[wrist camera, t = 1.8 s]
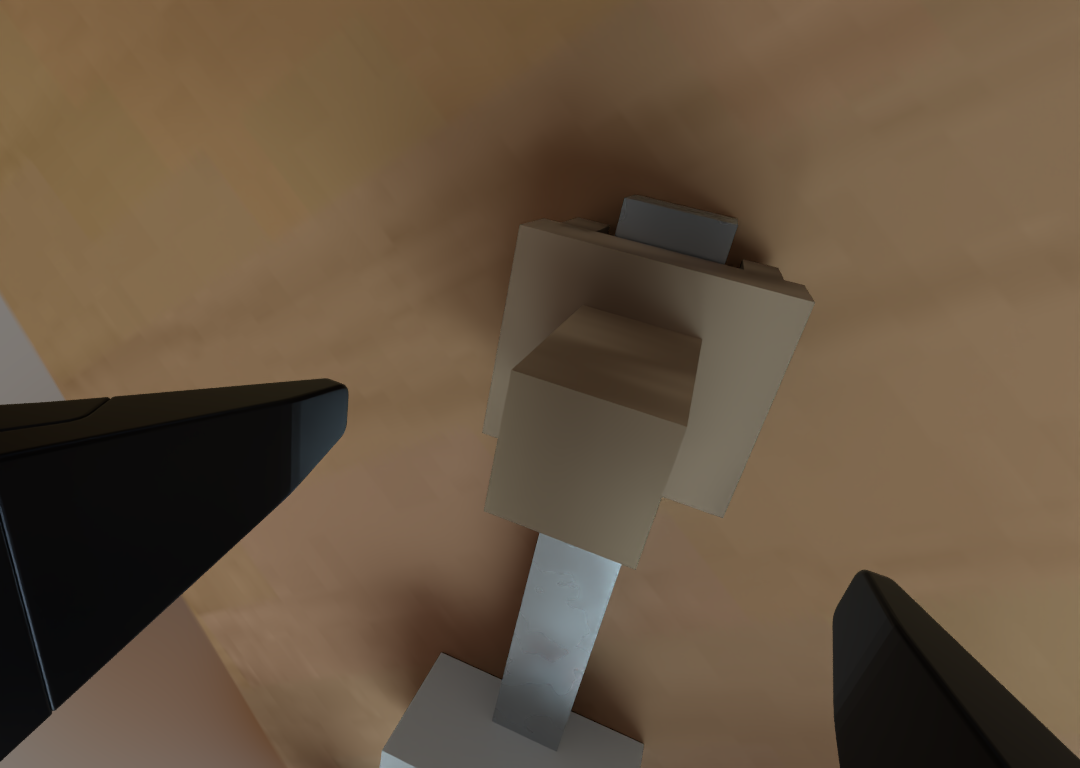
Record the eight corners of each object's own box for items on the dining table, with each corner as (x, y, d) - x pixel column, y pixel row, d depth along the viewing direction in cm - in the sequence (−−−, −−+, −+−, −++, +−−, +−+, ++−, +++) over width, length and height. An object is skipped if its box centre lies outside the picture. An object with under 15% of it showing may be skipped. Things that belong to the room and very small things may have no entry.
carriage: (796, 272, 15) (863, 380, 8) (724, 450, 18) (718, 671, 10) (563, 213, 17) (415, 251, 9) (526, 385, 19) (386, 534, 12)
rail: (737, 218, 16) (738, 224, 14) (569, 710, 25) (556, 751, 23) (636, 194, 16) (624, 197, 15) (508, 682, 25) (491, 721, 24)
